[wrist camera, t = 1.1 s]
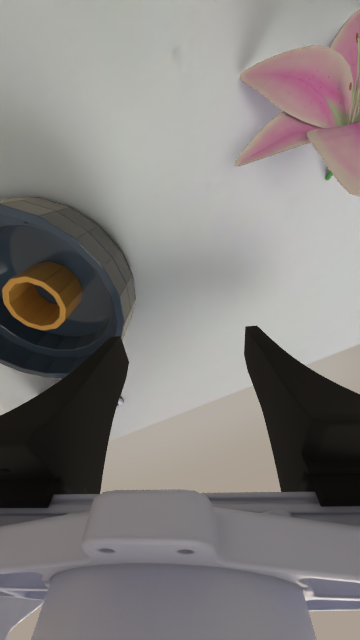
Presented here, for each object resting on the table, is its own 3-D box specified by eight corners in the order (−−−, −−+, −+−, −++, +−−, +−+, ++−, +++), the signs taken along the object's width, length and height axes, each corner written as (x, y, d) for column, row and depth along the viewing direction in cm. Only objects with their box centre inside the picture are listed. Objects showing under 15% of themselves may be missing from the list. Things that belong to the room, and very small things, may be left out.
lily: (457, 37, 13) (848, -459, 4) (409, 242, 15) (612, 183, 6) (249, 83, 17) (235, -133, 8) (233, 241, 19) (208, 204, 10)
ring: (63, 318, 23) (45, 339, 20) (19, 284, 22) (-9, 301, 18) (92, 290, 22) (77, 309, 19) (47, 250, 20) (21, 264, 17)
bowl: (99, 364, 28) (83, 397, 23) (-36, 301, 23) (-85, 328, 19) (165, 267, 21) (159, 290, 16) (-11, 150, 16) (-80, 142, 12)
